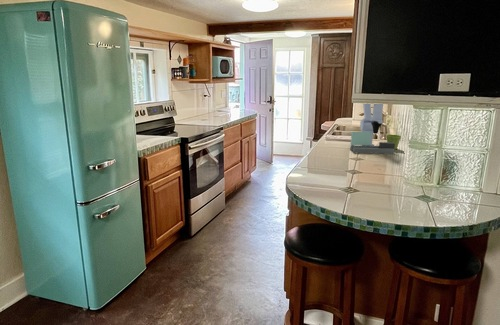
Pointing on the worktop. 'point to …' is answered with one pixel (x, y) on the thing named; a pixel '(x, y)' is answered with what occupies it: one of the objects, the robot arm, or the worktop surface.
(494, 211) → the worktop surface
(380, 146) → the block
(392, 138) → the plant pot
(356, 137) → the cover
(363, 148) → the grey frame
